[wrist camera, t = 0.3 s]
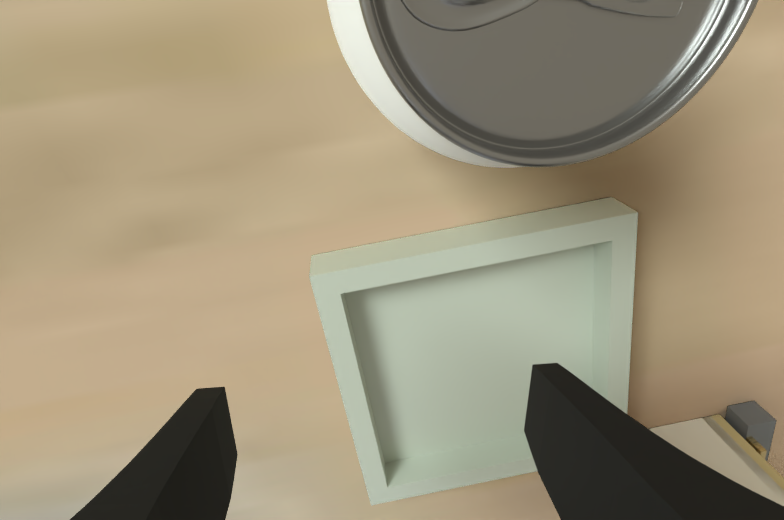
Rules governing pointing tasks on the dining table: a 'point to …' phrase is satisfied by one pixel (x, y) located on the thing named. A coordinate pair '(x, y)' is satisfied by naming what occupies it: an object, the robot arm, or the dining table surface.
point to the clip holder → (752, 425)
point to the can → (533, 70)
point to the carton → (725, 453)
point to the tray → (473, 338)
